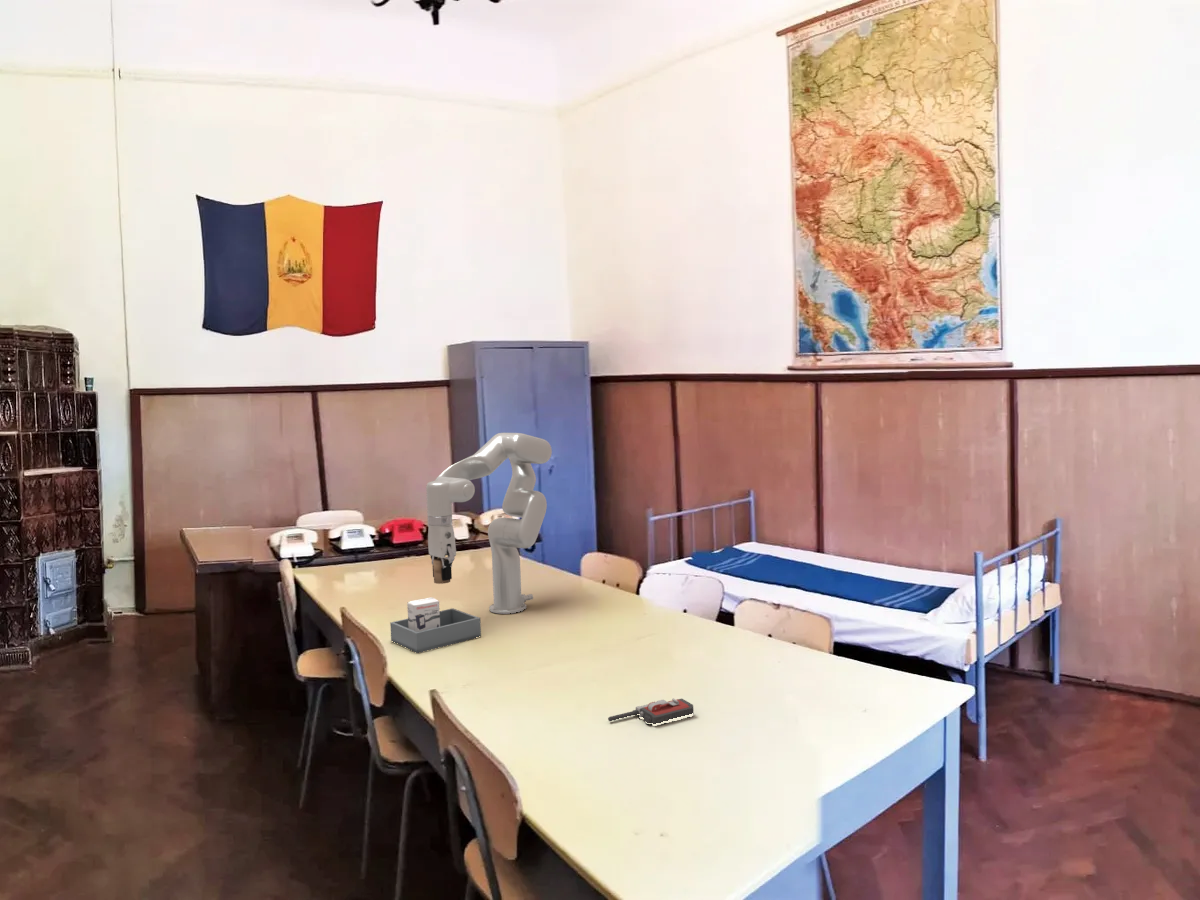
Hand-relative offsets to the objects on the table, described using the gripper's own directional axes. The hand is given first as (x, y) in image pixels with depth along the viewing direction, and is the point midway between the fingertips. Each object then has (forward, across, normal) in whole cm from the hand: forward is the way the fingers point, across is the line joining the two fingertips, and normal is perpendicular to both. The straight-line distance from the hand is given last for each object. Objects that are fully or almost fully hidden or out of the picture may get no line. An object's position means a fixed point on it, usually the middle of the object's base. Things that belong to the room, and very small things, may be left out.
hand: (442, 577), depth 272 cm
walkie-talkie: (+18, -95, -2) cm, 96 cm away
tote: (+18, -5, +5) cm, 19 cm away
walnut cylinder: (+1, 0, 0) cm, 1 cm away
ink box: (+17, -5, +9) cm, 20 cm away
